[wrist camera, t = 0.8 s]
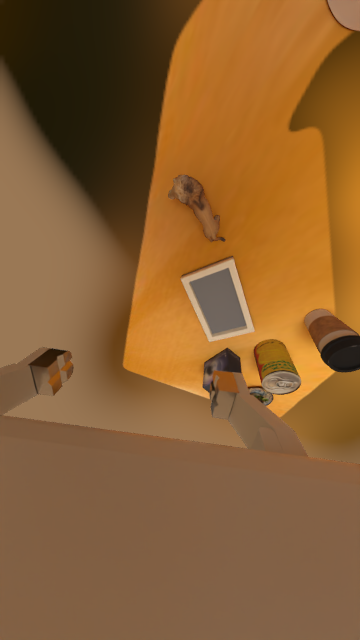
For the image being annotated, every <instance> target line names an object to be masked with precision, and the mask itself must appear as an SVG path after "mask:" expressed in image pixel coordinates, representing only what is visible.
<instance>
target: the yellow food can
mask: <svg viewBox="0 0 360 640" xmlns="http://www.w3.org/2000/svg"><path fill="white" fill-rule="evenodd" d="M254 355H255V359H256V363H257V367H258V371H259V375H260V379H261V383H262V386H263V388H264V389H265V390H266V391H267V392H269V393H272V394H277V395H283V394H289V393H292V392H294V391H296V390H297V389H298V388H299V387H300V385H301V379H300V377H299V375H298V372H297V370H296V368H295V366H294V364H293V362H292V360H291V358H290V355H289V353H288V351H287V349H286V347H285V345H284V344H283V343H282V342H280V341H278V340H273V339H270V340H265V341H262V342H260V343H259V344H257V345H256V347H255V349H254Z"/></svg>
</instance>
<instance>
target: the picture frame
mask: <svg viewBox="0 0 360 640" xmlns="http://www.w3.org/2000/svg"><path fill="white" fill-rule="evenodd" d="M181 281H182V283H183V285H184V288H185V290H186V292H187V294H188V296H189V299H190V301H191V303H192V305H193V307H194V310H195V312H196V314H197V316H198V318H199V321H200V323H201V325H202V327H203V329H204V332H205V334H206V336H207V338H208V340H209V342H212V341H216V340H220V339H225V338H229V337H233V336H237V335H242V334H246V333H250V332H255V331H254V327H253V324H252V321H251V317H250V314H249V310H248V307H247V303H246V300H245V297H244V293H243V290H242V286H241V283H240V280H239V276H238V273H237V269H236V266H235V263H234V259H233V256H231V257H229V258H226V259H223V260H221V261H218V262H216V263H213V264H210V265H208V266H205V267H203V268H200V269H198V270H195V271H192V272H190V273H187V274H185V275H182V277H181Z"/></svg>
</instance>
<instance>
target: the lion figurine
mask: <svg viewBox="0 0 360 640" xmlns="http://www.w3.org/2000/svg"><path fill="white" fill-rule="evenodd" d="M173 181H174V186H173V187H172V190H170V191H169V194H168V197H169V198H170V199H175V198H176V199H179V200H180V201H181V202H182V203H185V204H186V205H188V206H189V207H190V208H191V209H193V211H194V213H195V215H196V217H197V218H198V219H199V221H200V222H201V223H202V224H203V229H204V230H203V231H204V234H205V236H206V237H207V238H208V239H209V240H210V241H211V242H212V241H214V240H215V241H217V240H221V241H225V239H224V238H222V237H219V238H216V234H217V233H218V231H219V221H220V216H219V215H216V216H215V217H214V218H213V215H212V211H211V208H210V205H209V203H208V201H207V199H206V198H205V197H204V189H203V187H202V185H201V184H200V183H199V182H198V181H197V180H195V179H194V178H192V177H189V176H188V175H178V177H177V178H174V179H173Z"/></svg>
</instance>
